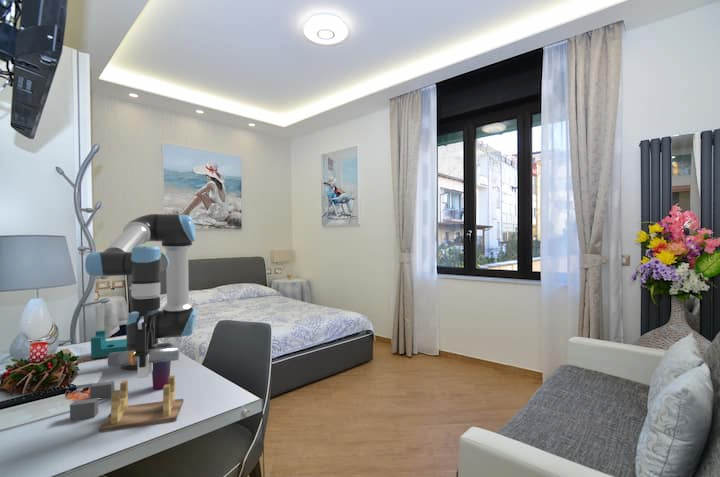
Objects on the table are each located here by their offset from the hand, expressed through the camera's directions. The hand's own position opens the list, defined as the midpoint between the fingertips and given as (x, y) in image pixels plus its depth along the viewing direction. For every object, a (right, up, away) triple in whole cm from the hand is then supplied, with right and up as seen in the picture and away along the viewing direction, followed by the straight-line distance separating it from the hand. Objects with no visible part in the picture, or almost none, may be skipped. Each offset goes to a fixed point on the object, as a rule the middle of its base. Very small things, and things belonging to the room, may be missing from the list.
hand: (145, 374), depth 105 cm
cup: (-7, -13, +21) cm, 25 cm away
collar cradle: (0, -12, 0) cm, 12 cm away
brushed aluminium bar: (0, +3, 0) cm, 3 cm away
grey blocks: (-20, -12, +6) cm, 24 cm away
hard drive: (-38, -14, +26) cm, 48 cm away
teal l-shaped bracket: (-50, -14, +59) cm, 78 cm away
